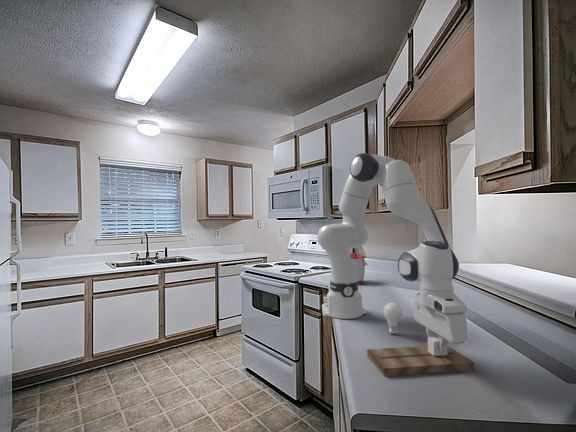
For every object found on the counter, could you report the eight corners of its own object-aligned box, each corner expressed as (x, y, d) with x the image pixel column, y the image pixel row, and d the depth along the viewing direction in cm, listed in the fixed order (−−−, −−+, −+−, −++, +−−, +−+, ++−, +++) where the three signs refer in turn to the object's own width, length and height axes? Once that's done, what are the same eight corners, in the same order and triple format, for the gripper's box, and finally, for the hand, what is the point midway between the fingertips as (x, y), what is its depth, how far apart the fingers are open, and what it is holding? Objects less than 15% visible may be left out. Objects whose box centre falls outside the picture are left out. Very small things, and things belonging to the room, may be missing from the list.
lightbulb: (379, 332, 111) (379, 301, 111) (393, 329, 113) (393, 299, 113) (391, 338, 105) (391, 306, 105) (406, 335, 107) (405, 303, 107)
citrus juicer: (367, 286, 189) (366, 253, 189) (339, 284, 194) (338, 253, 195) (368, 281, 204) (368, 251, 204) (342, 280, 209) (342, 250, 210)
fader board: (384, 376, 79) (384, 367, 79) (367, 356, 91) (367, 348, 91) (474, 369, 82) (473, 361, 82) (446, 351, 94) (445, 343, 94)
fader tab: (433, 355, 86) (433, 341, 86) (427, 351, 89) (427, 337, 89) (447, 355, 86) (447, 340, 86) (440, 350, 89) (440, 336, 89)
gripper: (407, 290, 98) (408, 334, 97) (448, 308, 77) (449, 364, 77) (426, 290, 98) (427, 333, 98) (471, 307, 78) (472, 362, 78)
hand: (437, 347), depth 87 cm, fingers closed on fader tab, 3 cm apart
